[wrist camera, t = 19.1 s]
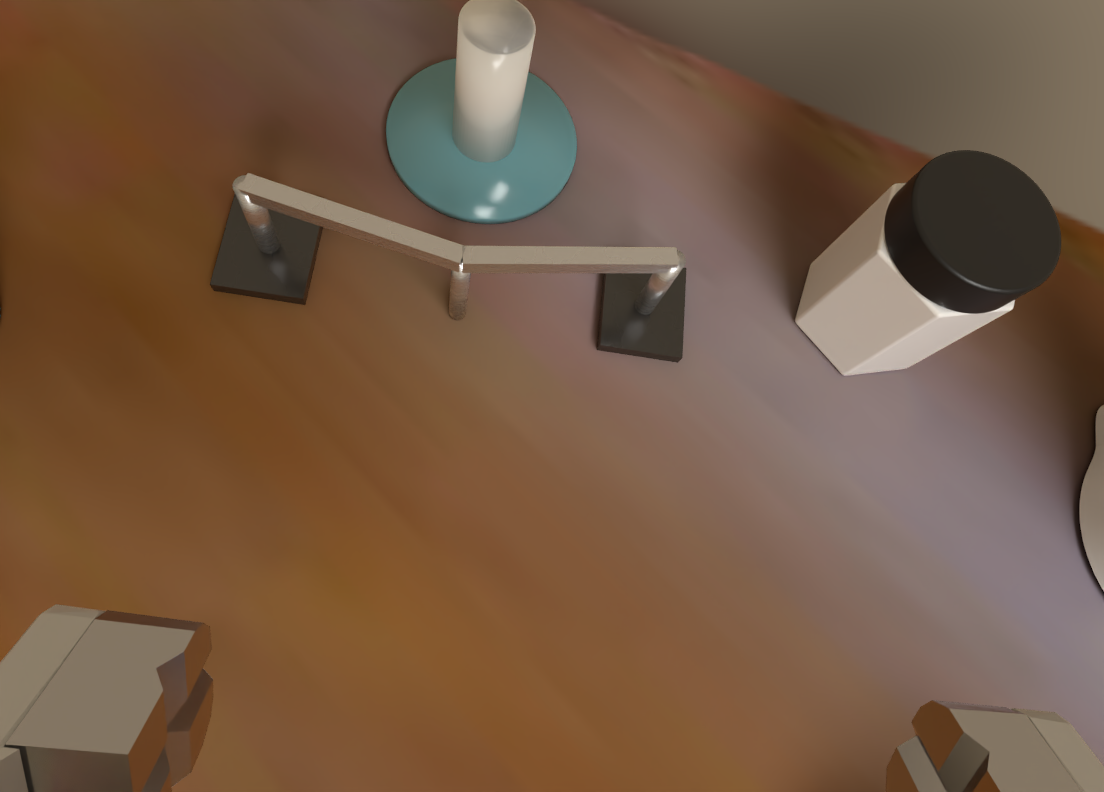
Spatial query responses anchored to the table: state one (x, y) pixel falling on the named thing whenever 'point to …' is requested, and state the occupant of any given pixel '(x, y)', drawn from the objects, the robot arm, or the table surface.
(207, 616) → the table surface
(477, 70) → the salt shaker
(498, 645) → the table surface
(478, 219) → the saucer
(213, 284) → the bent bar stand
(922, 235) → the jar
